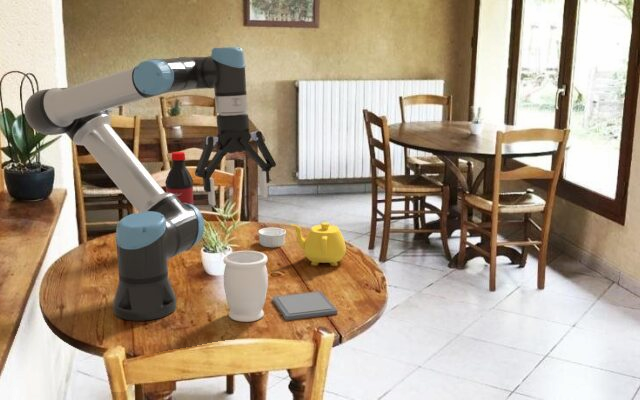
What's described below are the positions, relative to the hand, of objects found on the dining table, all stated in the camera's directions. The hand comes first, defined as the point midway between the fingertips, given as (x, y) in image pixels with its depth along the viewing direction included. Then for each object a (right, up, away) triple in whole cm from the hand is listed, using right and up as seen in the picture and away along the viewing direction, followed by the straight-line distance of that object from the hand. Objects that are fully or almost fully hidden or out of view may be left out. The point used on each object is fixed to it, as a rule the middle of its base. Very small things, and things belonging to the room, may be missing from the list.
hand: (238, 200), depth 168 cm
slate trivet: (+16, -27, +4) cm, 31 cm away
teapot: (+19, -18, +38) cm, 47 cm away
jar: (+2, -28, -1) cm, 28 cm away
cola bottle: (-24, -14, +52) cm, 59 cm away
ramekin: (+5, -14, +54) cm, 56 cm away
